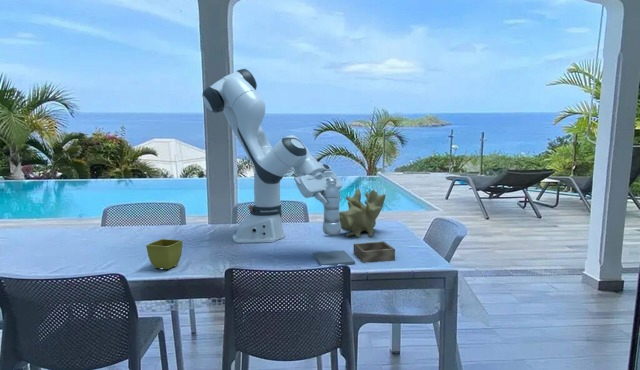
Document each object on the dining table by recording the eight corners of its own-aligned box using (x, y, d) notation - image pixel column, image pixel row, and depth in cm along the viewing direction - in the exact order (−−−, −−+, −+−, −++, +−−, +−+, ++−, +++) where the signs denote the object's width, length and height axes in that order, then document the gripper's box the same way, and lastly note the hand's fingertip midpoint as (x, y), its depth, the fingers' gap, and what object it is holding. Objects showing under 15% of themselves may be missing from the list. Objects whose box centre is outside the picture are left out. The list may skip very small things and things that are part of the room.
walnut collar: (362, 262, 154) (362, 251, 154) (353, 254, 165) (353, 243, 165) (395, 260, 157) (395, 249, 157) (383, 251, 168) (383, 241, 167)
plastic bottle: (335, 237, 152) (334, 180, 150) (319, 235, 156) (318, 179, 154) (344, 233, 158) (344, 178, 155) (328, 231, 161) (327, 177, 159)
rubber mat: (321, 267, 151) (321, 264, 151) (313, 255, 164) (312, 252, 164) (355, 264, 153) (355, 261, 153) (344, 252, 167) (343, 250, 167)
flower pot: (163, 262, 158) (161, 238, 157) (184, 264, 156) (183, 239, 154) (147, 270, 150) (145, 244, 149) (169, 272, 147) (167, 246, 146)
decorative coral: (399, 203, 202) (376, 174, 185) (397, 247, 190) (371, 219, 174) (350, 212, 215) (324, 185, 198) (345, 253, 203) (316, 228, 187)
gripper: (296, 169, 150) (319, 200, 145) (332, 165, 166) (353, 192, 161) (287, 181, 153) (309, 212, 149) (322, 176, 169) (343, 203, 165)
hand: (332, 202), depth 155 cm, fingers closed on plastic bottle, 6 cm apart
